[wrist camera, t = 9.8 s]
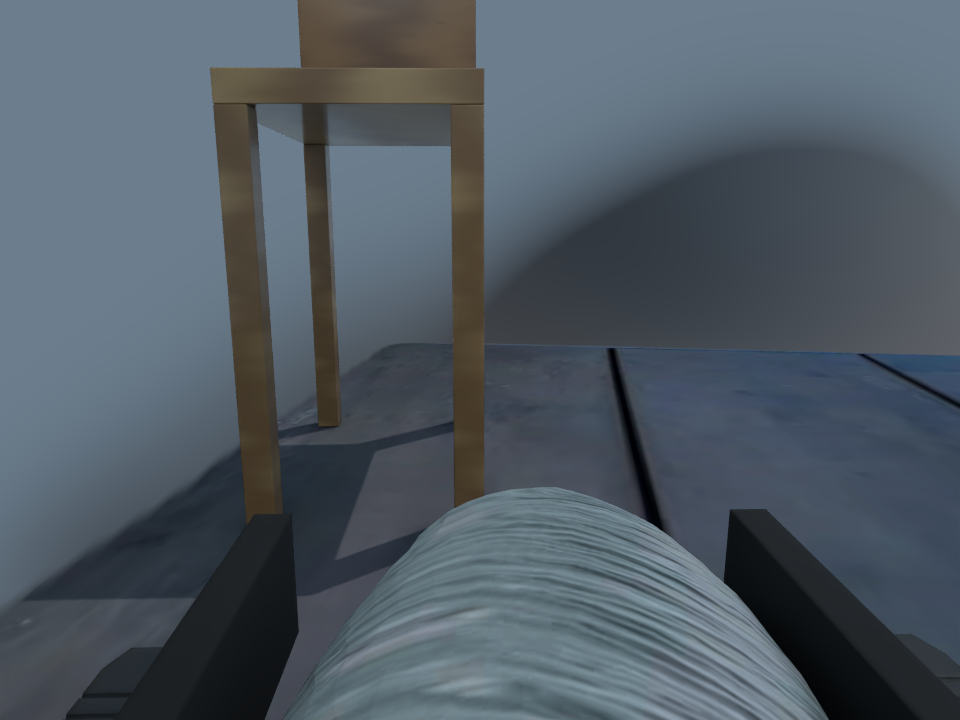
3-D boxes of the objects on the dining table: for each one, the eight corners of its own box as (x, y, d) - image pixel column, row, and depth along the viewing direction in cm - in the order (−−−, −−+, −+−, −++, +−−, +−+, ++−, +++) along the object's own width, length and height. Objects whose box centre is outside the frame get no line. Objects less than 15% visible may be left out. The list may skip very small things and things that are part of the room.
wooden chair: (246, 532, 34) (153, -641, 25) (322, 420, 53) (286, -273, 43) (484, 529, 35) (484, -631, 25) (476, 419, 53) (474, -270, 43)
